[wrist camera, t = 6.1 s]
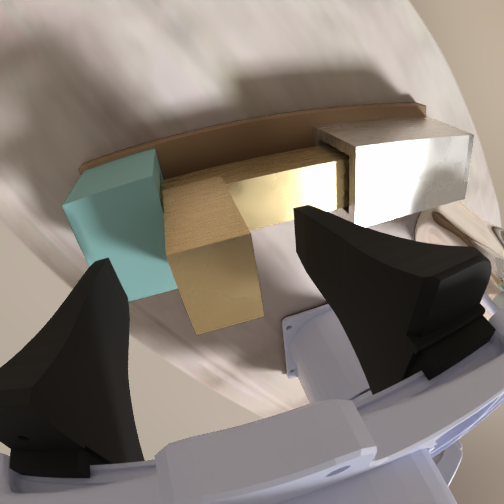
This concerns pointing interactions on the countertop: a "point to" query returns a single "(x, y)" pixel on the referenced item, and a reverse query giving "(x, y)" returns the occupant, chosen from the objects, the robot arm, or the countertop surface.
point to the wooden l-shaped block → (240, 225)
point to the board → (253, 137)
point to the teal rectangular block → (123, 222)
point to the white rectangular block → (399, 165)
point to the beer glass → (467, 243)
